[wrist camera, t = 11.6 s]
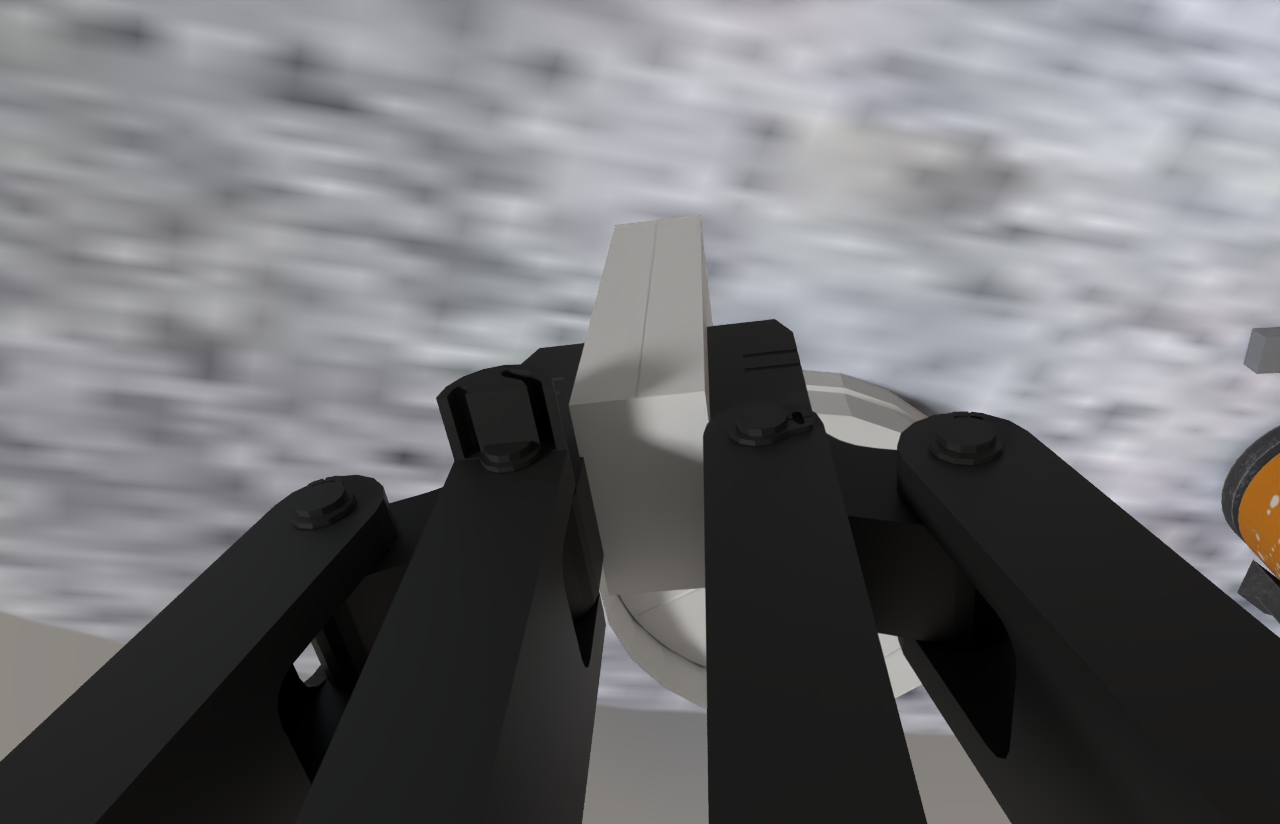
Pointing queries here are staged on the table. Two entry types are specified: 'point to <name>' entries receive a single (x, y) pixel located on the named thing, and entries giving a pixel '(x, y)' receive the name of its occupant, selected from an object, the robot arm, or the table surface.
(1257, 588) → the canister
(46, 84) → the table surface
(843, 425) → the dish
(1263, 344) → the dark grey flat u-shape
